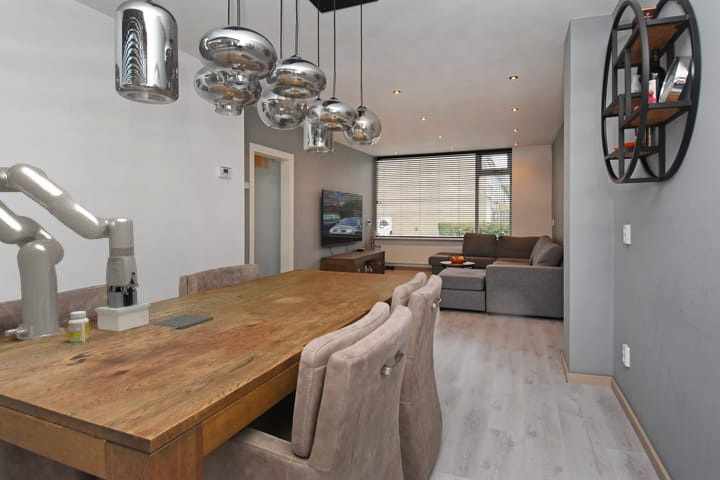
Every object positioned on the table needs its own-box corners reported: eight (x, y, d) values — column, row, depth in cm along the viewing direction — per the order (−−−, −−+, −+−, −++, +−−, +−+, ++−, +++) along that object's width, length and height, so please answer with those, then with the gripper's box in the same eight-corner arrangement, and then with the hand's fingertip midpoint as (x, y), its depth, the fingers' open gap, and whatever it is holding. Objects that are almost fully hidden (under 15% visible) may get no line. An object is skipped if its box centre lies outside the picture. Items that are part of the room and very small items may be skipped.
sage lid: (118, 316, 136) (117, 295, 136) (94, 314, 140) (94, 293, 140) (150, 308, 148) (150, 289, 148) (128, 306, 152) (127, 288, 152)
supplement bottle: (73, 346, 123) (72, 314, 122) (65, 344, 126) (64, 313, 125) (93, 342, 127) (92, 311, 127) (84, 339, 130) (83, 309, 130)
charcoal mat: (181, 329, 142) (181, 326, 142) (150, 326, 147) (150, 323, 147) (213, 319, 157) (213, 316, 157) (184, 316, 162) (184, 314, 162)
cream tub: (119, 333, 137) (118, 313, 137) (97, 331, 141) (97, 311, 140) (149, 325, 148) (148, 306, 148) (128, 323, 152) (128, 304, 152)
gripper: (94, 253, 143) (96, 305, 144) (129, 254, 137) (131, 308, 138) (114, 252, 150) (115, 301, 151) (148, 252, 144) (150, 304, 145)
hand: (123, 304), depth 144 cm, fingers closed on sage lid, 4 cm apart
